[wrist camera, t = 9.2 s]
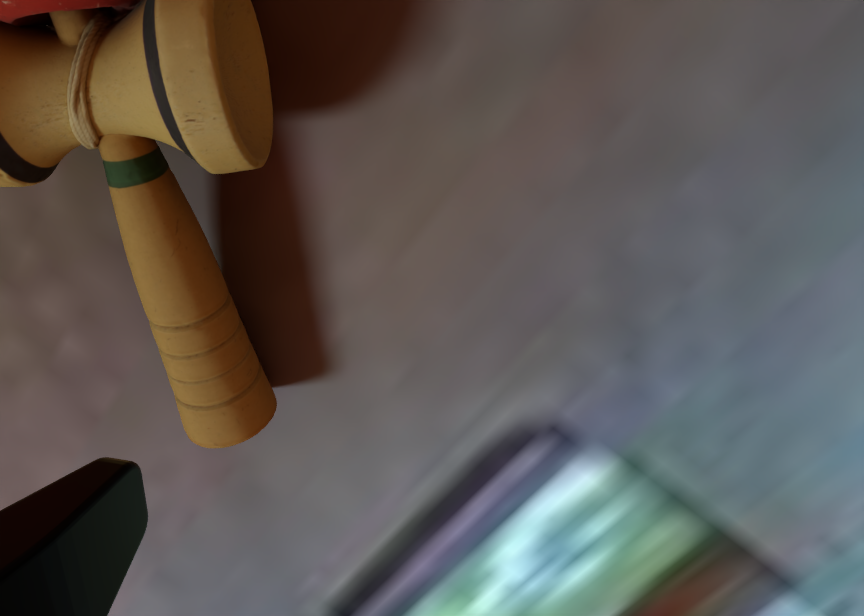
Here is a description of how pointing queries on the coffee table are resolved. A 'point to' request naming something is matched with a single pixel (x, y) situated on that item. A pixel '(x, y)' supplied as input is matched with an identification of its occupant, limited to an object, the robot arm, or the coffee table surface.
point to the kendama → (152, 164)
